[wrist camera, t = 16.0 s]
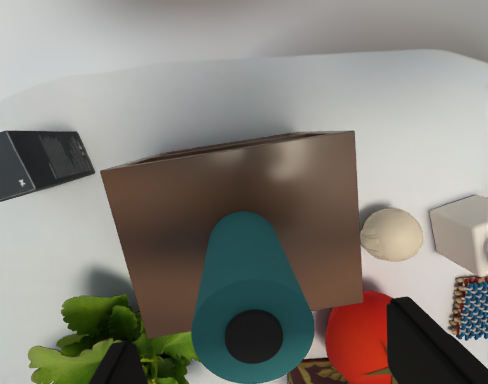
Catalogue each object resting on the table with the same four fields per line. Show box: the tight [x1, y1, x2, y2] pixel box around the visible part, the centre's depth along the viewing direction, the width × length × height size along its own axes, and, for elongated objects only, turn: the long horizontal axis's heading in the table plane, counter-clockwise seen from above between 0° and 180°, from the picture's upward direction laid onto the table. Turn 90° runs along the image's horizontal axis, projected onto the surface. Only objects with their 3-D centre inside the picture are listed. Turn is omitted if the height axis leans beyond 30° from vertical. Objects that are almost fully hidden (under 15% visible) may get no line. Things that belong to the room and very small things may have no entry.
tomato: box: [325, 291, 398, 384], centre depth 35 cm, size 13×12×11 cm
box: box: [0, 131, 95, 202], centre depth 28 cm, size 8×6×11 cm
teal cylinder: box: [191, 212, 315, 384], centre depth 15 cm, size 5×5×9 cm
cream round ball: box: [360, 208, 423, 261], centre depth 34 cm, size 7×7×7 cm
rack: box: [100, 131, 363, 339], centre depth 27 cm, size 14×18×16 cm
